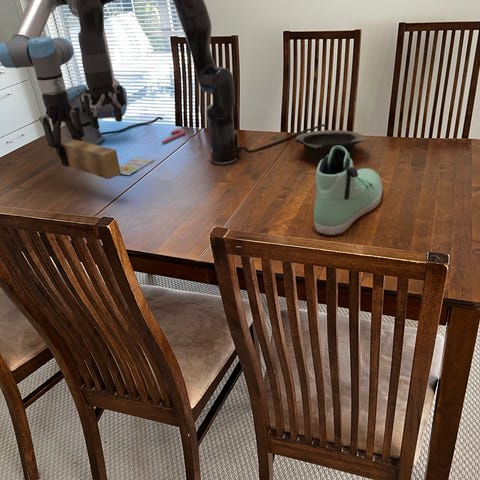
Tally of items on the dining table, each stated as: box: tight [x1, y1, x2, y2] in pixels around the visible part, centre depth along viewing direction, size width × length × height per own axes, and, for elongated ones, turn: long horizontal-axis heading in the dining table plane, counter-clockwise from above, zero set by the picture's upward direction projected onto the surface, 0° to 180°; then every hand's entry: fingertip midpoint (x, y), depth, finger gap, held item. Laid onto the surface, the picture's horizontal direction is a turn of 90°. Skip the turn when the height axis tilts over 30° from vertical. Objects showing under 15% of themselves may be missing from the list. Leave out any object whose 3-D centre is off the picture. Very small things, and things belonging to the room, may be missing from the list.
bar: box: [57, 136, 122, 180], centre depth 153 cm, size 25×5×8 cm, turn 53°
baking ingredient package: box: [119, 157, 154, 176], centre depth 178 cm, size 9×1×15 cm
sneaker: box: [313, 146, 383, 236], centre depth 133 cm, size 14×35×20 cm, turn 152°
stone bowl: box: [294, 129, 367, 165], centre depth 171 cm, size 25×25×9 cm
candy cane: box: [161, 128, 186, 144], centre depth 202 cm, size 6×15×2 cm, turn 145°
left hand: (72, 162), depth 160 cm, fingers closed on bar, 5 cm apart
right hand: (108, 124), depth 144 cm, fingers open, 8 cm apart
